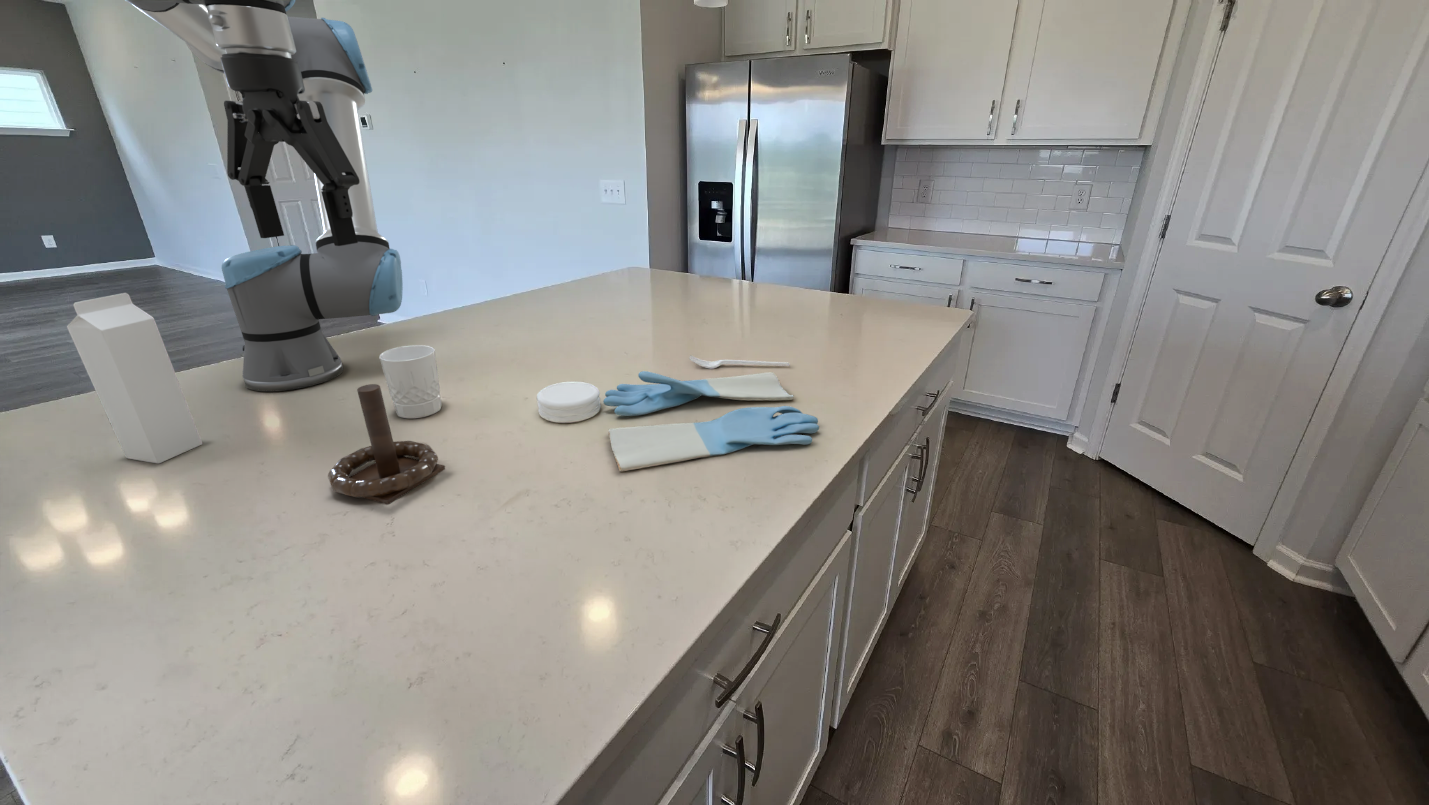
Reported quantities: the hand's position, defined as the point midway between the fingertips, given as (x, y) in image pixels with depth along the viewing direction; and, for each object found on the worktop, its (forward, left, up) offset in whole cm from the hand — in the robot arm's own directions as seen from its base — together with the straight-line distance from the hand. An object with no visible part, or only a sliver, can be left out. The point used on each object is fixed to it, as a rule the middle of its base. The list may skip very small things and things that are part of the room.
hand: (308, 240), depth 77 cm
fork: (+44, +49, -28) cm, 72 cm away
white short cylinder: (+25, +18, -28) cm, 42 cm away
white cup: (+2, +9, -28) cm, 30 cm away
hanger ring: (+17, -10, -26) cm, 32 cm away
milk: (-20, -15, -28) cm, 38 cm away
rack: (+17, -10, -28) cm, 34 cm away
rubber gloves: (+47, +24, -28) cm, 60 cm away
